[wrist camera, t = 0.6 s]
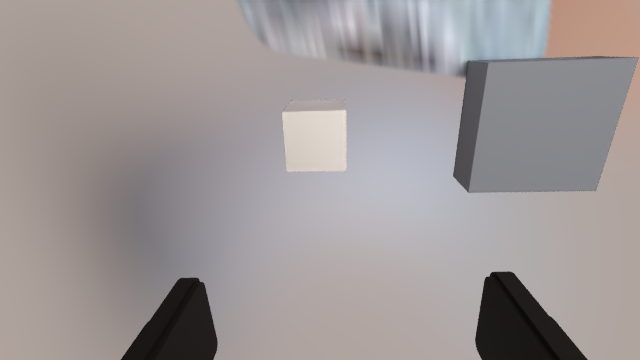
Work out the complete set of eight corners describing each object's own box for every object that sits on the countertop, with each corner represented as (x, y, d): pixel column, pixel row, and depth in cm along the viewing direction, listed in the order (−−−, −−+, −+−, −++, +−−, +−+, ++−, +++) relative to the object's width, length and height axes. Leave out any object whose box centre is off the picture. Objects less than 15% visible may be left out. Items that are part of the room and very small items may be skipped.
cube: (291, 100, 30) (281, 111, 25) (344, 98, 30) (346, 110, 25) (294, 150, 32) (286, 171, 27) (344, 149, 32) (346, 170, 26)
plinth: (468, 60, 28) (488, 62, 25) (598, 56, 28) (638, 57, 24) (453, 176, 32) (468, 192, 29) (565, 174, 32) (595, 190, 28)
